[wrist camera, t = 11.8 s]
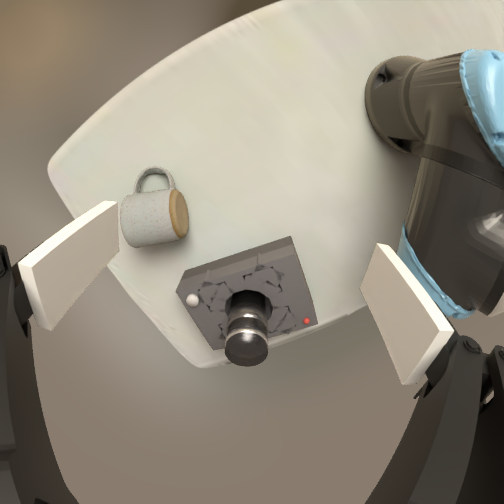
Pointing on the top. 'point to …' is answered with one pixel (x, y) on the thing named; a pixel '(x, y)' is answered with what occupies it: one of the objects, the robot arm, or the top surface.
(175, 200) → the ceramic mug
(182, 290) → the box with round hole
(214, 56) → the top surface
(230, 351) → the lens
